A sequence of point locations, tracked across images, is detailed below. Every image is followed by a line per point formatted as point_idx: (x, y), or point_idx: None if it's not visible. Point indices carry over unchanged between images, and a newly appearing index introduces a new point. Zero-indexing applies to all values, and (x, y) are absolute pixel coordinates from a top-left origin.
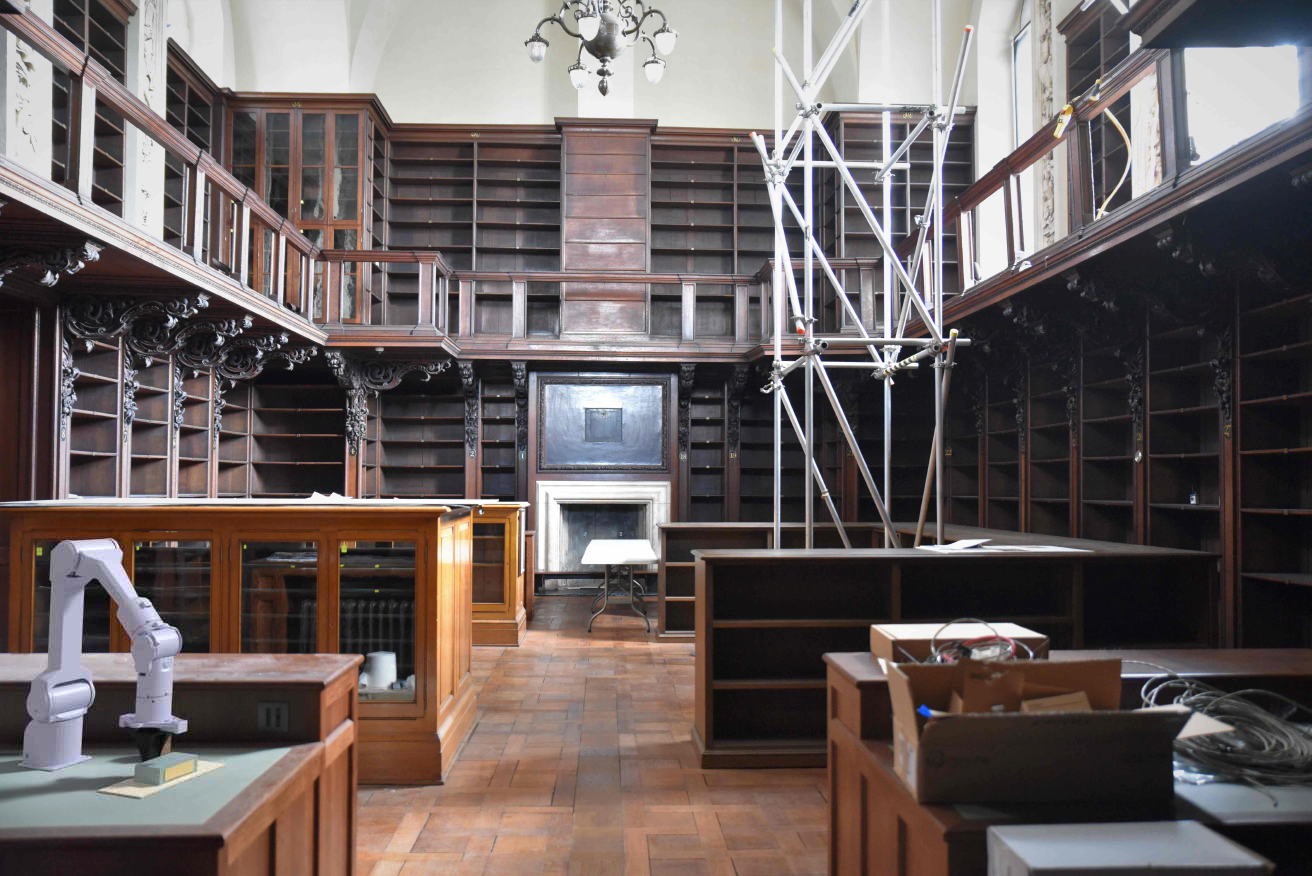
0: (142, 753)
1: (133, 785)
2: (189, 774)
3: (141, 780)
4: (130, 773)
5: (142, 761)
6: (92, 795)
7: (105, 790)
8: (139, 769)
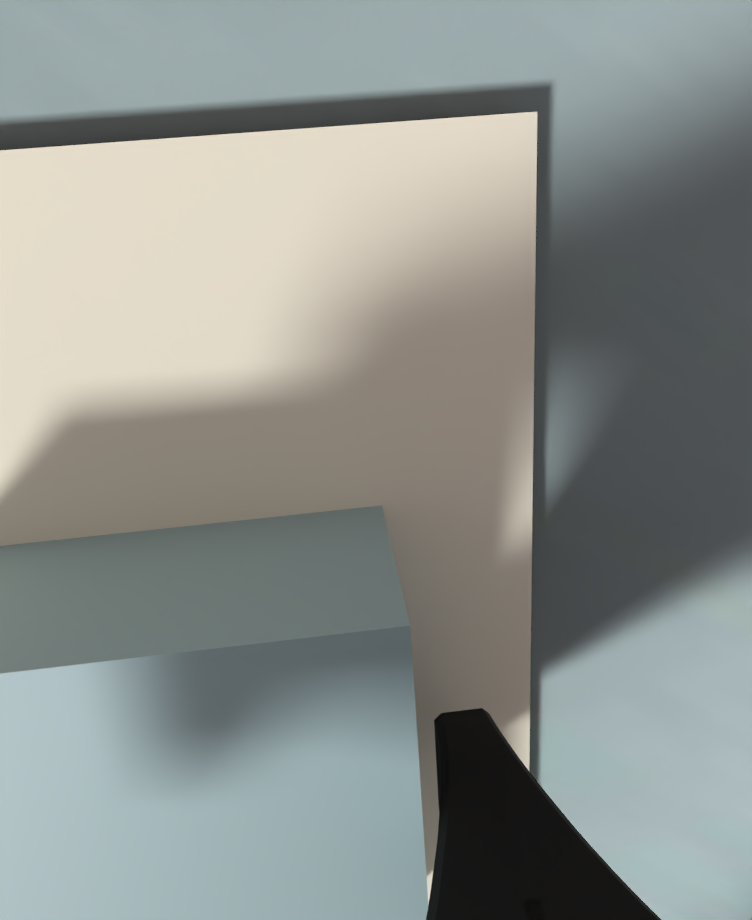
0: (554, 879)
1: (266, 428)
2: None
3: (257, 532)
4: (739, 675)
5: (523, 775)
6: (519, 20)
7: (425, 144)
8: (306, 604)
